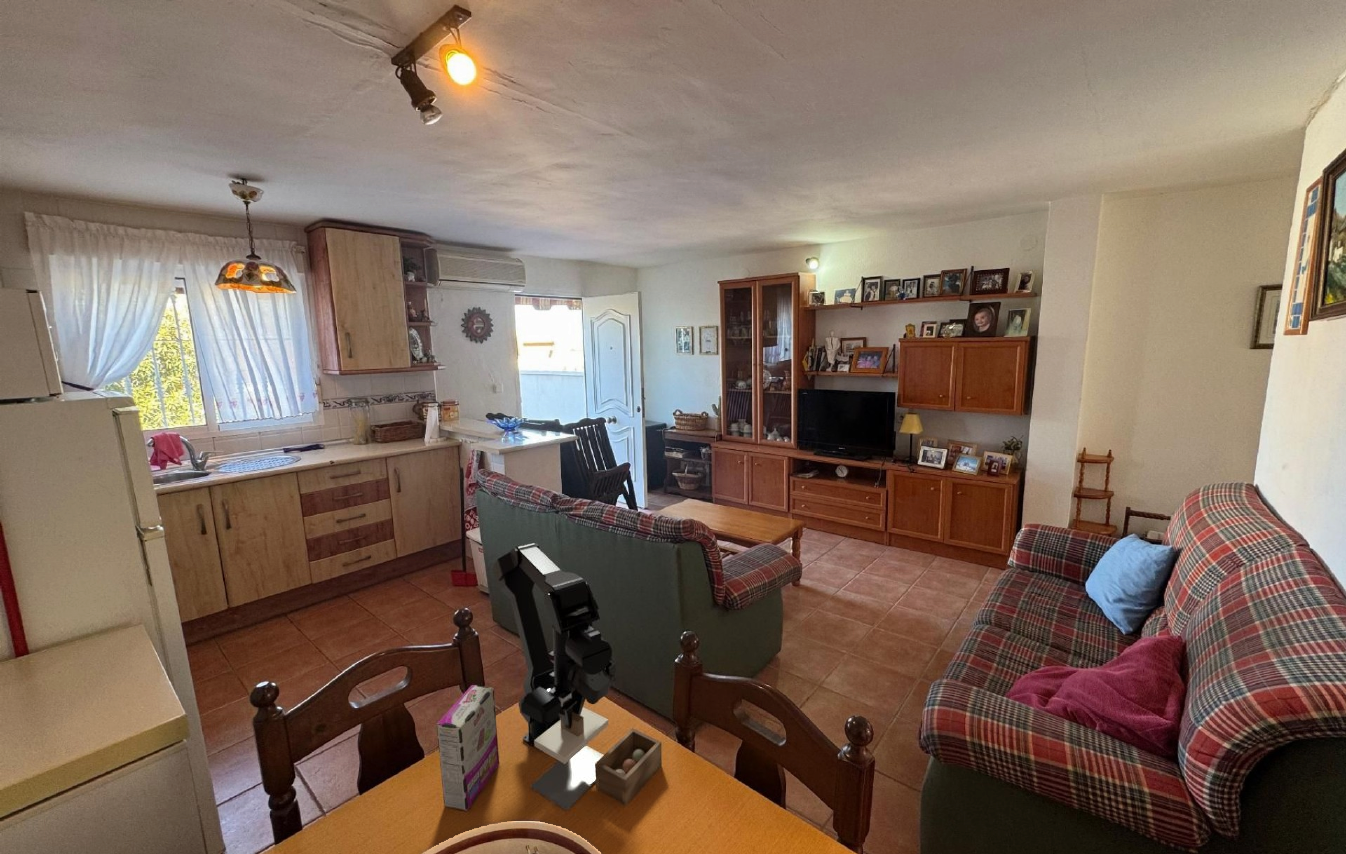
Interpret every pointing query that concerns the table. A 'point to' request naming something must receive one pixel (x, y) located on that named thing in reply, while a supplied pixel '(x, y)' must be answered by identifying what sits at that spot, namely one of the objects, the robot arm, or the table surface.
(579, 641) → the robot arm
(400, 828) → the table surface
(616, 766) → the box
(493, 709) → the candy bar box
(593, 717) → the lid
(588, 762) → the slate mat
